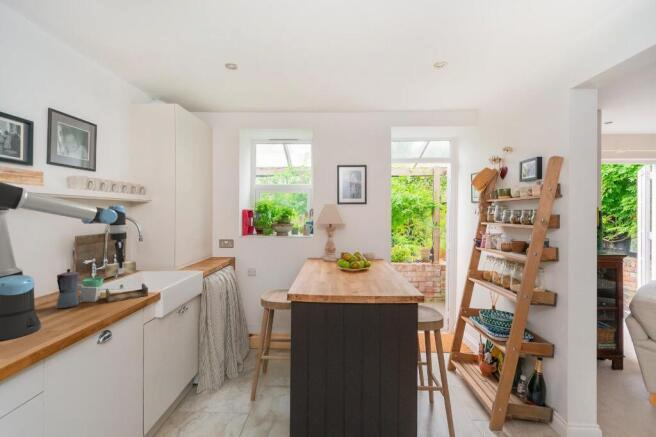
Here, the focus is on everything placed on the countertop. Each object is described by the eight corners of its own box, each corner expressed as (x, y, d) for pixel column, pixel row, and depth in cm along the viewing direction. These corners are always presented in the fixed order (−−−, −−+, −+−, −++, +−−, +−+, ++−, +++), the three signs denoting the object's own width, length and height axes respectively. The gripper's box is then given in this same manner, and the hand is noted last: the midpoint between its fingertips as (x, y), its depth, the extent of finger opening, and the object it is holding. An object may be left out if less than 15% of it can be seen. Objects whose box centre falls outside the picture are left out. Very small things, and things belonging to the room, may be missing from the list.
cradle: (108, 302, 157) (107, 294, 157) (106, 297, 167) (105, 289, 167) (148, 295, 170) (147, 287, 170) (143, 291, 180) (143, 283, 180)
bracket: (99, 301, 164) (101, 284, 164) (94, 303, 160) (96, 286, 160) (77, 299, 162) (80, 282, 162) (72, 302, 158) (74, 284, 158)
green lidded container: (100, 296, 169) (100, 280, 169) (79, 298, 165) (79, 281, 165) (108, 290, 183) (108, 275, 182) (89, 292, 179) (89, 276, 179)
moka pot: (85, 301, 161) (84, 266, 160) (71, 309, 146) (70, 271, 146) (64, 303, 157) (63, 267, 157) (48, 312, 143) (47, 273, 142)
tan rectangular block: (106, 276, 155) (105, 265, 155) (105, 275, 159) (104, 264, 159) (136, 272, 164) (135, 262, 164) (135, 270, 168) (134, 260, 168)
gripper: (128, 232, 156) (130, 274, 157) (124, 231, 170) (126, 269, 171) (111, 234, 151) (113, 276, 152) (109, 232, 165) (111, 271, 166)
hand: (120, 272), depth 162 cm, fingers closed on tan rectangular block, 5 cm apart
